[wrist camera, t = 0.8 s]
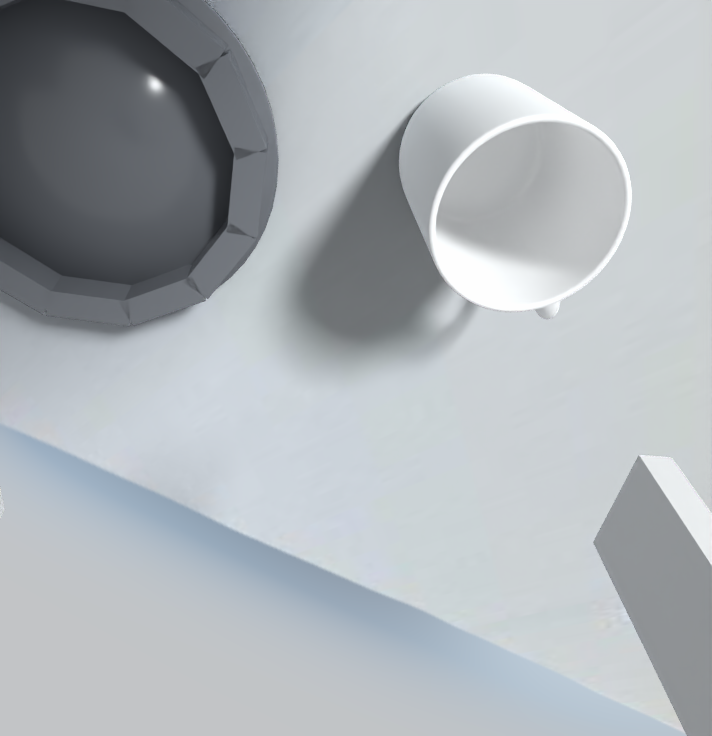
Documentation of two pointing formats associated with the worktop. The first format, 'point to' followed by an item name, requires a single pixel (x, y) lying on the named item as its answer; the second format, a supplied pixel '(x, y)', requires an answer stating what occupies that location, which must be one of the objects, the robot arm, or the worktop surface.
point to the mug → (512, 193)
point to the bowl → (128, 156)
